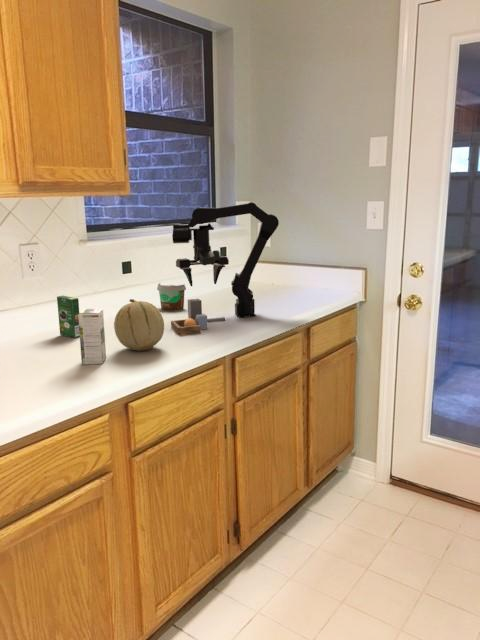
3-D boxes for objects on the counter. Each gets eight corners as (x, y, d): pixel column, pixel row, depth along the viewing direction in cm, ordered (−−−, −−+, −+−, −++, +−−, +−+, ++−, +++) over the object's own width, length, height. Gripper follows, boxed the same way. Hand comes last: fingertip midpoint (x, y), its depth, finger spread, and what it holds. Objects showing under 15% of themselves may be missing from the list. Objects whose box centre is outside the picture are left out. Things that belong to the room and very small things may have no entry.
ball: (188, 314, 181) (180, 324, 181) (190, 317, 177) (183, 326, 177) (196, 321, 183) (189, 330, 182) (199, 324, 179) (192, 333, 179)
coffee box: (82, 336, 174) (79, 297, 171) (75, 338, 172) (71, 298, 169) (67, 333, 179) (63, 295, 176) (59, 335, 177) (55, 296, 174)
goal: (192, 325, 186) (192, 318, 186) (200, 333, 176) (200, 325, 175) (171, 327, 184) (170, 320, 183) (178, 335, 174) (178, 327, 173)
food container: (152, 310, 213) (150, 285, 211) (160, 307, 219) (158, 283, 216) (179, 312, 209) (178, 286, 206) (186, 309, 214) (185, 284, 212)
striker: (199, 320, 192) (198, 298, 191) (208, 328, 181) (208, 305, 179) (188, 321, 191) (187, 299, 189) (197, 329, 180) (196, 306, 178)
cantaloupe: (150, 358, 149) (147, 306, 146) (105, 354, 154) (101, 303, 151) (174, 344, 163) (172, 296, 159) (132, 341, 168) (129, 294, 164)
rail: (224, 319, 194) (224, 317, 194) (225, 320, 193) (225, 317, 193) (183, 323, 189) (183, 321, 189) (184, 324, 188) (184, 321, 188)
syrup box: (85, 359, 150) (81, 308, 147) (107, 358, 151) (103, 307, 147) (81, 365, 145) (76, 313, 141) (103, 364, 145) (99, 312, 142)
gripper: (182, 246, 183) (185, 290, 187) (233, 242, 190) (234, 286, 193) (174, 243, 193) (176, 286, 197) (222, 240, 200) (224, 281, 204)
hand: (203, 285), depth 197 cm, fingers open, 9 cm apart
